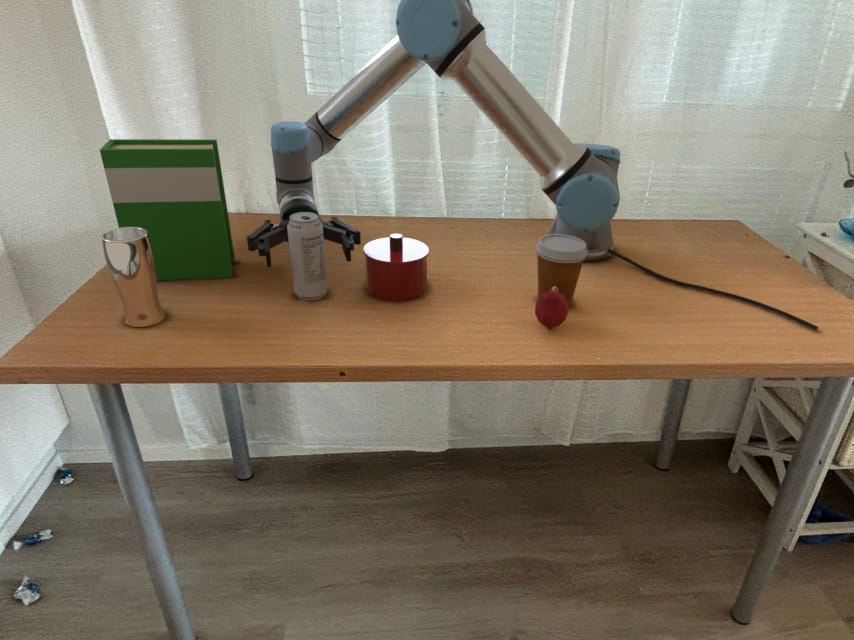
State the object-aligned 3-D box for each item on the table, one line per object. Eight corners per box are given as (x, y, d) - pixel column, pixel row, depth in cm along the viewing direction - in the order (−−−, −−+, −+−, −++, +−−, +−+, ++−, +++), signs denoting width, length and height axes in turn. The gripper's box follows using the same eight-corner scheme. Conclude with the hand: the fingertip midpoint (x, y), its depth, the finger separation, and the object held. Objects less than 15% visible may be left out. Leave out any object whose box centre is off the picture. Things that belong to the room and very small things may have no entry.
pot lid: (420, 240, 127) (421, 222, 125) (436, 265, 117) (436, 246, 115) (358, 244, 123) (357, 225, 122) (369, 270, 114) (368, 250, 112)
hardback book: (235, 261, 130) (216, 139, 117) (232, 277, 124) (212, 149, 111) (139, 265, 126) (109, 139, 113) (132, 281, 120) (99, 150, 107)
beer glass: (139, 333, 104) (116, 245, 96) (113, 320, 107) (89, 234, 99) (176, 317, 109) (158, 233, 102) (151, 305, 112) (131, 223, 104)
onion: (564, 338, 111) (570, 297, 106) (530, 333, 112) (535, 292, 107) (567, 323, 116) (572, 282, 111) (535, 318, 116) (540, 278, 112)
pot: (419, 273, 130) (419, 238, 126) (432, 298, 121) (433, 261, 117) (362, 277, 127) (361, 242, 123) (372, 303, 118) (370, 265, 114)
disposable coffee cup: (546, 317, 117) (554, 255, 111) (520, 295, 124) (526, 236, 118) (589, 308, 121) (599, 248, 115) (561, 288, 128) (569, 230, 122)
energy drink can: (316, 284, 123) (309, 208, 115) (334, 295, 119) (328, 218, 112) (288, 293, 119) (279, 215, 111) (305, 305, 116) (297, 225, 108)
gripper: (362, 230, 135) (380, 271, 118) (236, 237, 128) (236, 282, 111) (361, 195, 131) (379, 232, 114) (231, 200, 124) (230, 241, 107)
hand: (309, 257), depth 112 cm, fingers open, 13 cm apart
